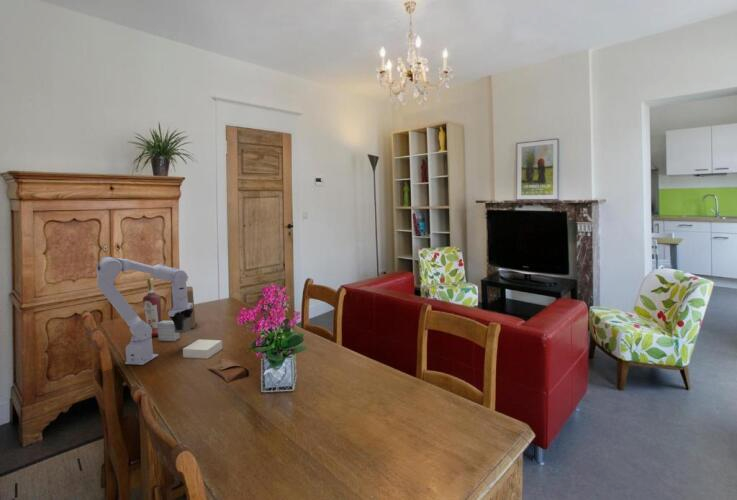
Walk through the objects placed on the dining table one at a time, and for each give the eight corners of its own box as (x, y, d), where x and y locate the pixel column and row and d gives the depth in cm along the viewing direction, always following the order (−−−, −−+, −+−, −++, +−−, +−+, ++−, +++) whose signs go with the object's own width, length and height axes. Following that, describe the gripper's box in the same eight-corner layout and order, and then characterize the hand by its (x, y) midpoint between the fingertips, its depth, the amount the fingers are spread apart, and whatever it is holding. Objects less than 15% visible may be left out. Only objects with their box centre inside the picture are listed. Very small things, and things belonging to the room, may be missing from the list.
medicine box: (180, 338, 183) (178, 320, 182) (174, 341, 178) (172, 323, 177) (164, 337, 184) (162, 320, 183) (158, 341, 179) (156, 323, 178)
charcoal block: (184, 332, 166) (183, 320, 165) (175, 332, 167) (173, 320, 166) (190, 329, 171) (189, 317, 170) (181, 329, 171) (180, 316, 170)
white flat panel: (207, 359, 158) (207, 350, 158) (183, 358, 160) (182, 348, 160) (222, 349, 169) (221, 340, 169) (199, 348, 171) (198, 339, 170)
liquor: (167, 332, 191) (162, 276, 187) (157, 338, 184) (152, 279, 180) (153, 332, 192) (147, 276, 188) (143, 337, 184) (137, 279, 181)
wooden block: (174, 325, 202) (171, 287, 199) (195, 322, 206) (192, 285, 203) (173, 331, 193) (170, 292, 190) (195, 328, 197) (192, 289, 194)
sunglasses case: (204, 369, 148) (212, 352, 150) (220, 372, 153) (227, 356, 155) (228, 383, 136) (236, 364, 138) (244, 387, 141) (251, 368, 143)
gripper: (178, 301, 159) (181, 333, 161) (198, 293, 173) (200, 322, 175) (162, 301, 160) (165, 333, 162) (183, 293, 174) (186, 322, 176)
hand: (182, 327), depth 168 cm, fingers closed on charcoal block, 4 cm apart
